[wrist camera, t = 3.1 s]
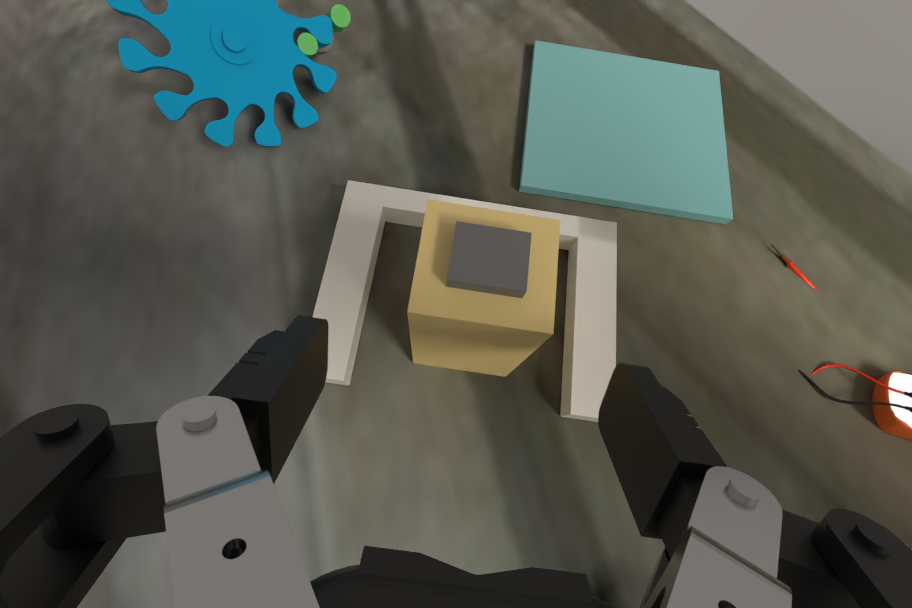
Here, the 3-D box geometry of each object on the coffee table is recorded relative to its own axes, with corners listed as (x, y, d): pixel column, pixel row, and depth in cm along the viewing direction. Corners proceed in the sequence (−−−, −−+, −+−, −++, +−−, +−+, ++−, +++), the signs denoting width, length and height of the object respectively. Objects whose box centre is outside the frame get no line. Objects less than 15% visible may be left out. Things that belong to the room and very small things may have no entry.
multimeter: (663, 354, 22) (705, 338, 19) (784, 221, 25) (838, 188, 22) (977, 655, 19) (1095, 700, 15) (1070, 458, 22) (1183, 460, 19)
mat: (712, 78, 28) (718, 71, 27) (725, 224, 24) (733, 219, 24) (533, 48, 28) (535, 40, 27) (518, 191, 24) (521, 185, 23)
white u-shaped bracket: (605, 236, 23) (616, 222, 22) (601, 422, 20) (615, 420, 19) (352, 196, 23) (348, 180, 22) (306, 379, 20) (297, 374, 18)
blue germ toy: (168, 169, 21) (46, -94, 16) (180, 162, 26) (88, -43, 21) (379, 125, 25) (326, -100, 20) (354, 125, 30) (307, -55, 25)
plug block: (512, 299, 22) (565, 210, 14) (505, 376, 20) (559, 328, 12) (426, 286, 22) (427, 188, 14) (413, 363, 20) (406, 305, 12)
